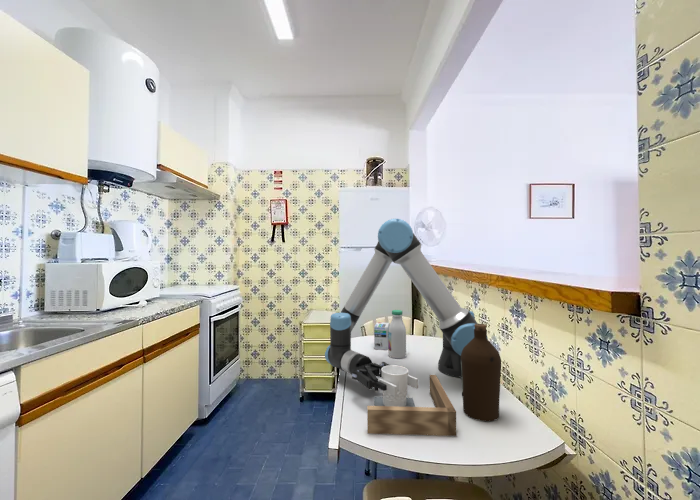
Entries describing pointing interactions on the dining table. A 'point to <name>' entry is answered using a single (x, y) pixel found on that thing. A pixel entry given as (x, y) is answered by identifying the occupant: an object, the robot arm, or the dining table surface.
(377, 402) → the slate mat
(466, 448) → the dining table surface
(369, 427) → the corner pen
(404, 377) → the white cup
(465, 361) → the brown bottle
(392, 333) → the milk bottle
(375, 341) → the light bulb box
